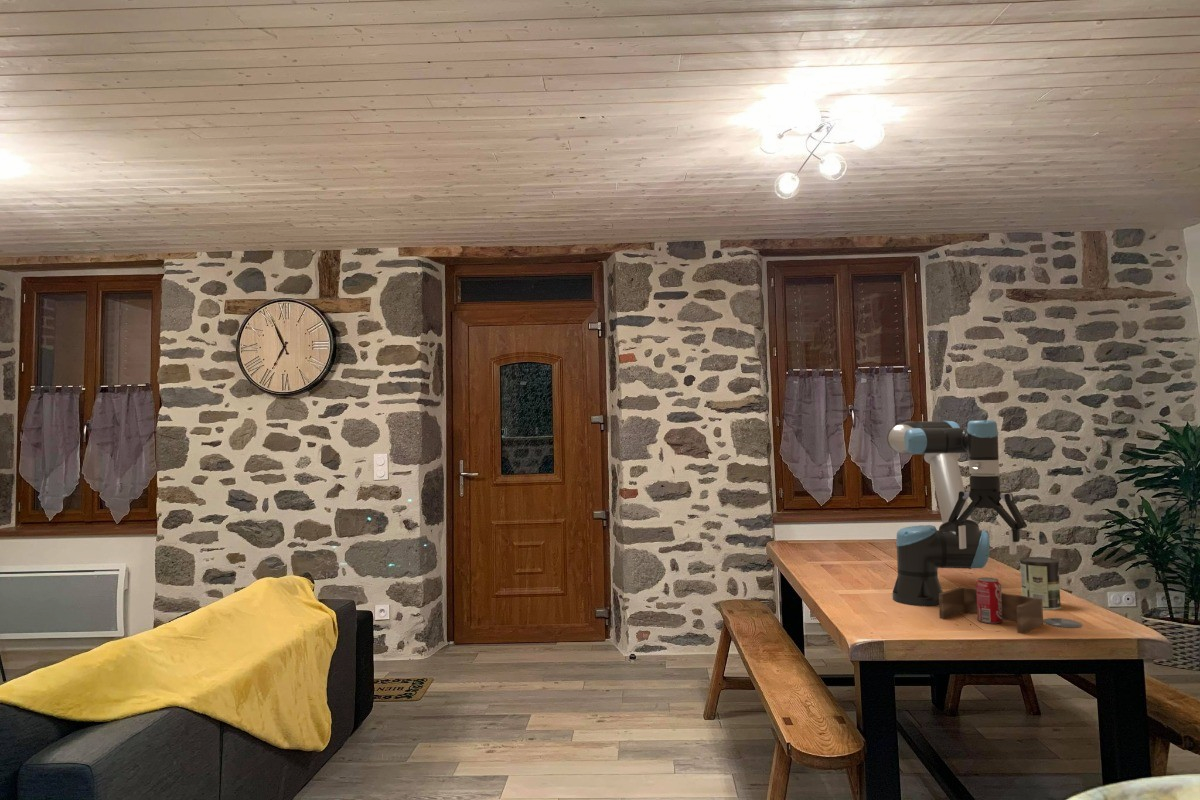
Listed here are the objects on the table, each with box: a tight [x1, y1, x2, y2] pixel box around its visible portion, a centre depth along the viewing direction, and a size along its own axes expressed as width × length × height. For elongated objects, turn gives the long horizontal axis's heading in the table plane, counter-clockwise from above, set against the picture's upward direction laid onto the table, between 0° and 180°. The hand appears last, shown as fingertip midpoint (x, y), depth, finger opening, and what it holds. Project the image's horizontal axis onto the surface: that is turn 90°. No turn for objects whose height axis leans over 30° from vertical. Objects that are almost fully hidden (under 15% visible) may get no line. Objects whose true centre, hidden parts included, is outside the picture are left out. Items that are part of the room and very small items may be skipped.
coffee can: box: [1019, 556, 1062, 611], centre depth 224 cm, size 10×10×14 cm
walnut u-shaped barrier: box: [938, 586, 1044, 635], centre depth 207 cm, size 22×14×7 cm, turn 39°
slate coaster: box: [1043, 617, 1083, 629], centre depth 203 cm, size 9×9×1 cm
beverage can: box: [975, 577, 1004, 625], centre depth 207 cm, size 6×6×12 cm
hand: (987, 551), depth 207 cm, fingers open, 13 cm apart
